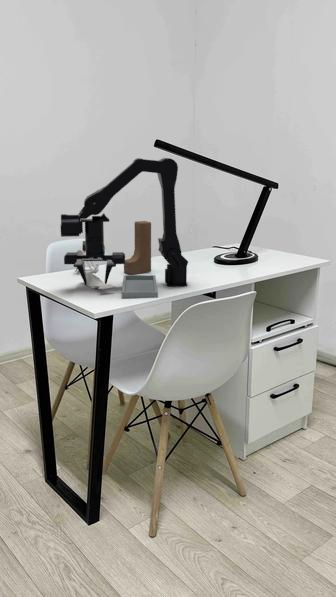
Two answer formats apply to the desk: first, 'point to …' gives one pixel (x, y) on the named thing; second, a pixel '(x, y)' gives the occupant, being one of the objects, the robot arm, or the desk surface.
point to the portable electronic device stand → (95, 267)
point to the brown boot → (140, 250)
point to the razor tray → (139, 286)
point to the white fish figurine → (95, 282)
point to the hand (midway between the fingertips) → (95, 284)
